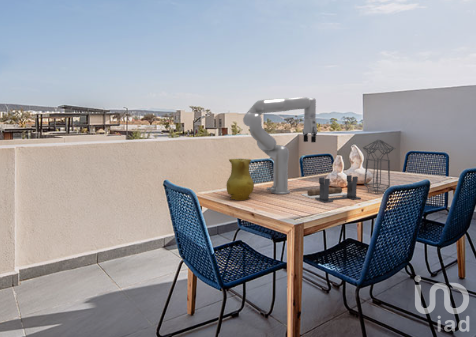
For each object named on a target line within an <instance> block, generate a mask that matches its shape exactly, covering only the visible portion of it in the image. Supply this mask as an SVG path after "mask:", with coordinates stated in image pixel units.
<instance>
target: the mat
mask: <svg viewBox="0 0 476 337" xmlns="http://www.w3.org/2000/svg"><path fill="white" fill-rule="evenodd" d="M342 195H347V192H343V191H342V192H341V193H333V194H329V198H334V197H342ZM300 196H303V197H306V198H308V199H315V198H320V195H312V196H308V194H307V193H301V194H300Z"/></svg>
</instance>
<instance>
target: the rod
mask: <svg viewBox="0 0 476 337" xmlns="http://www.w3.org/2000/svg"><path fill="white" fill-rule="evenodd" d="M341 192H343V189H342V187H340V186H339V187H329V194H333V193H341ZM306 194H308V196H312V195H320V188H317V189H307V191H306Z"/></svg>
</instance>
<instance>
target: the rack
mask: <svg viewBox="0 0 476 337" xmlns="http://www.w3.org/2000/svg"><path fill="white" fill-rule="evenodd" d="M358 178H359V176H353V175H350V174H349V175H346V182H347V183H346V184H347V186H346V193H347V195H342V196H334V197H329V188H330V185H331V179H330V178H325V177H323V176H321V177H318V184H319V189H320V198H314V200H315V201H318V202H322V203H324V204H327V203H333V202H334V201H337V200H346V199H348V200H352V201H354V200H362V198H361V197H360V196H357V186H358V185H357V183H358V181H359V180H358Z"/></svg>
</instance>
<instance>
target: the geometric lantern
mask: <svg viewBox="0 0 476 337" xmlns="http://www.w3.org/2000/svg"><path fill="white" fill-rule="evenodd" d="M362 149H363V150H364V151H365V152H366V153H367V156H366V157H367V158H366V161H365V162H366V163H365V170H364V171H365V173H364V184H363V186H365V188H367V192H368V193H370V194H375V195H380V194H382V193H384V191H386V190H388V189H389V188H390V186H391V185H390V184H391V181H390V180H391V179H390V177H391V174H390V170H391V169H390V168H391V167H390V165H391V164H390V163H391V162H390V161H391V160H390V158H389V155H388V154H390V153H391V152H392V151H393V150H396V148H395V147H394V146H392V145H390V143H389V144H388V143H387V142H385V141H383V140H382V139H376V140H375V141H373V142H371V143H369V144H367V145H364V146H362ZM371 150H372V151H371ZM377 150H378V151H379V152H380V153H381V155H380V156H379V157H378V156H377V155H376V153H375V152H377ZM372 153H373V154H372ZM370 155H371V156H372V158H370ZM373 155H375V157H376V158H374V156H373ZM385 155H386V156H387V159H383V158H384V156H385ZM380 157H381V158H380ZM369 161H373V163H374V164H373V174H372V183H366V180H367V174H368V173H367V172H368V166H369ZM382 161H383V162H387V169H388V170H387V173H388V174H387V175H388V184H384V183H382V180H381V179H382ZM379 162H380V167H379ZM375 170H376V177H375ZM379 170H380V171H379ZM374 185H376V186H374ZM380 185H381V186H380Z"/></svg>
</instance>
